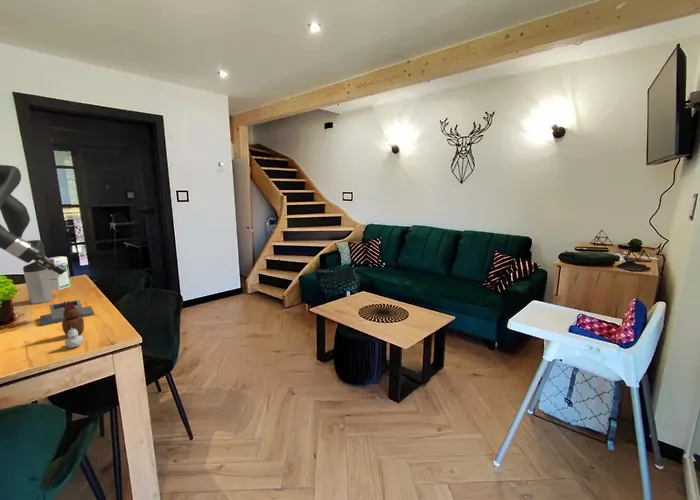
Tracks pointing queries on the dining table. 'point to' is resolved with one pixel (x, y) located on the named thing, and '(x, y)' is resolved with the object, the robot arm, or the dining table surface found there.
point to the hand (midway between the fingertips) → (62, 271)
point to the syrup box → (56, 279)
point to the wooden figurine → (72, 319)
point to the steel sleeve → (59, 309)
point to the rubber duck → (73, 339)
